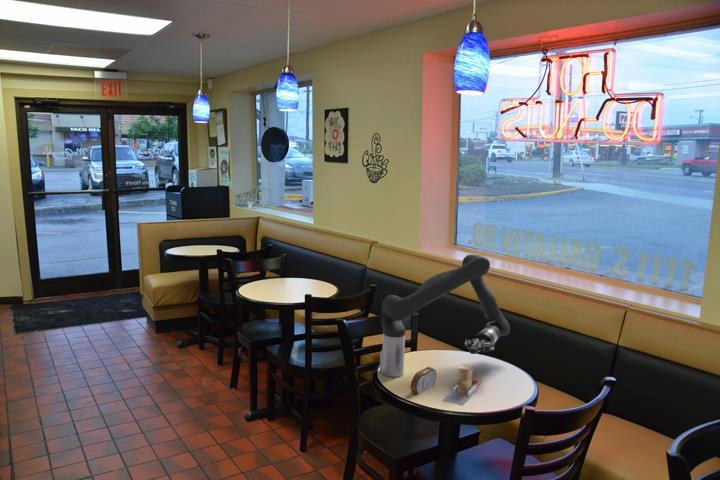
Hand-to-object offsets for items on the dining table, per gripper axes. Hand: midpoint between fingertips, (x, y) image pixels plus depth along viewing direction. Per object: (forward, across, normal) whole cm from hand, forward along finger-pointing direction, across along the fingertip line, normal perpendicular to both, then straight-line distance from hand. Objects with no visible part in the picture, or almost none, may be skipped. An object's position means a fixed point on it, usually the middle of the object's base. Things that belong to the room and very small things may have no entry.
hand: (472, 351), depth 217 cm
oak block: (+6, 0, +14) cm, 16 cm away
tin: (+14, -14, +15) cm, 25 cm away
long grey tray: (+8, 0, +15) cm, 16 cm away
